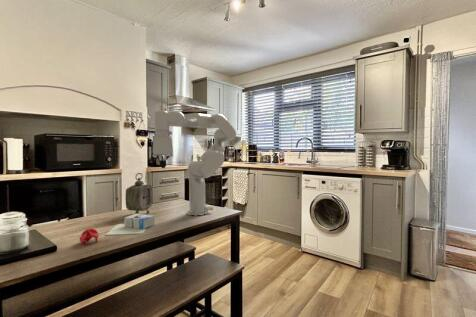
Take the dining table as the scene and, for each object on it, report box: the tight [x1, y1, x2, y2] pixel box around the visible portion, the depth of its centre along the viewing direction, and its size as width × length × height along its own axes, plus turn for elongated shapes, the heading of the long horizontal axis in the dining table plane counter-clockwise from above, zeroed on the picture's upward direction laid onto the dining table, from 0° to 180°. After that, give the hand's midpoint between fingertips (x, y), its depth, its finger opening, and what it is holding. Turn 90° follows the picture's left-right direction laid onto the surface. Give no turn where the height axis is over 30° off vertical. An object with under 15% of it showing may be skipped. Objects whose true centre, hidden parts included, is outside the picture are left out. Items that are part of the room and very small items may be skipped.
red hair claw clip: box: [79, 228, 99, 246], centre depth 107 cm, size 8×6×6 cm
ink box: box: [123, 213, 156, 229], centre depth 128 cm, size 8×5×12 cm
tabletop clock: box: [125, 172, 153, 214], centre depth 150 cm, size 14×9×25 cm, turn 170°
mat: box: [105, 223, 147, 237], centre depth 124 cm, size 16×16×1 cm
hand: (163, 167), depth 139 cm, fingers closed
